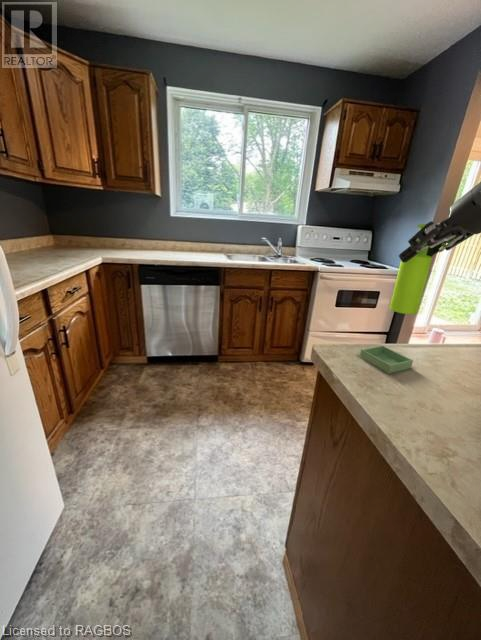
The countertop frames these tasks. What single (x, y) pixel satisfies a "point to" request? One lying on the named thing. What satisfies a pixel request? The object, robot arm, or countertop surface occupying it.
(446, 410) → the countertop surface
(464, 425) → the countertop surface
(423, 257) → the soap dispenser
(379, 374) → the countertop surface
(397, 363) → the green tray
